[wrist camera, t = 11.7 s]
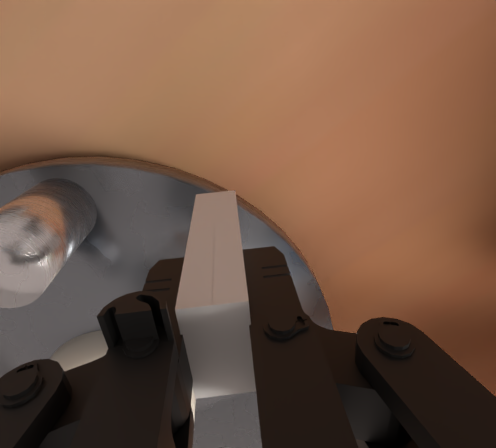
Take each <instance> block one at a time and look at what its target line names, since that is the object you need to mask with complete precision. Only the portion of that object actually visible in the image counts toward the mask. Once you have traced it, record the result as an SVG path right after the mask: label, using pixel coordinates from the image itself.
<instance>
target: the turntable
mask: <svg viewBox="0 0 496 448" xmlns="http://www.w3.org/2000/svg"><path fill="white" fill-rule="evenodd" d="M223 191H228V190H226V189H224V188H222V187H220V186H218V185H216V184H214V183H212V182H210V181H208V180H206V179H204V178H201V177H198V176H195V175H192V174H189V173H186V172H184V171H181V170H178V169H175V168H172V167H167V166H163V165H158V164H154V163H149V162H144V161H140V160H132V159H122V158H111V157H67V158H58V159H52V160H46V161H40V162H34V163H28V164H25V165H21V166H18V167H15V168H12V169H8V170H5V171H2V172H0V378H1V377H2V376H3V375H4V374H6V373H7V372H9V371H11V370H13V369H14V368H16V367H18V366H20V365H22V364H25V363H28V362H31V361H33V360H39V359H50V358H51V356H52V355H53V354H54V352H55V351H56V350H57V349H58V348H59V347H61V346H62V345H63V344H64V343H66V342H68V341H69V340H71V339H73V338H75V337H78V336H80V335H83V334H86V333H90V332H94V331H100V330H101V327H100V325H99V322H98V319H97V315H98V314H99V313H100V311H101V310H102V309H103V307H105V306H106V305H107V304H109V303H110V302H111V301H113V300H114V299H116V298H118V297H121V296H123V295H125V294H128V293H133V292H137V291H142V290H143V287H144V284H145V281H146V278H147V275H148V272H149V270H150V269H151V268H152V267H153V266H154V265H155V264H156V263H157V262H158V261H159V260H162V259H171V258H180V257H185V252H186V246H187V241H188V235H189V230H190V225H191V219H192V214H193V208H194V203H195V197H196V194H204V193H214V192H223ZM236 201H237V209H238V217H239V226H240V234H241V242H242V250H243V249H252V248H261V247H271V246H275V247H276V248H277V249H278V250H280V251H281V252H282V253H283V254H284V256H285V259H286V262H287V266H288V268H289V271H290V275H291V277H292V280H293V283H294V286H295V289H296V292H297V294H298V297H299V300H300V303H301V306H302V309H303V311H304V313H306V314H307V315H309V317H310V318H311V320H312V321H313V322H314V323H316V324H317V325H319V326H321V327H324V328H326V329H330V330H333V327H332V323H331V318H330V313H329V309H328V306H327V304H326V302H325V299H324V297H323V294H322V292H321V289H320V287H319V285H318V282H317V280H316V278H315V276H314V273H313V271H312V270H311V268H310V266H309V265H308V263H307V261H306V260H305V258H304V256H303V255H302V253H301V252H300V250H299V249H298V248H297V247H296V245H295V244H294V243H293V242H292V241H291V239H290V238H289V237H288V236H287V235H286V234H285V232H284V231H283V230H282V229H281V228H280V227H278V226H277V225H276V224H275V223H274V222H273V221H272V220H271V219H269V218H268V217H267V216H266V215H265V214H264V213H263V212H262V211H260V210H259V209H257V208H256V207H254V206H253V205H251V204H250V203H248V202H247V201H245V200H244V199H242V198H241V197H239V196H238V195H236ZM192 448H262V443H261V434H260V424H259V415H258V405H257V396H256V391H255V392H247V393H239V394H231V395H223V396H214V397H206V398H198V399H196V404H195V418H194V432H193V447H192Z"/></svg>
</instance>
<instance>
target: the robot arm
mask: <svg viewBox="0 0 496 448" xmlns="http://www.w3.org/2000/svg"><path fill="white" fill-rule="evenodd" d="M97 319H98V322H99V325H100V327H101V330H102V333H103V336H104V338H105V341H106V344H107V346H108V350H107V353H106V355H104V356H103V357H101V358H99V359H96V360H94V361H92V362H89V363H86V364H84V365H81V366H78V367H75V368H73V369H70V370H67V371H64V370H63V368H62V367H61V365H60V364H59V363H58V362H57V361H54V360H51V359H39V360H33V361H31V362H28V363H25V364H22V365H20V366H18V367H16V368H14V369H13V370H11V371H9V372H7V373H6V374H4V375H3V376H2V377H1V378H0V448H192V447H193V432H194V418H193V412H192V407H191V398H192V387H193V391H194V395H195V399H198V398H206V397H214V396H223V395H231V394H239V393H247V392H255V391H256V396H257V405H258V415H259V424H260V434H261V443H262V448H496V397H495V396H494V395H493V394H492V393H491V392H489V391H488V390H487V389H486V388H485V387H484V386H483V385H482V384H480V383H479V382H478V381H477V380H476V379H475V378H474V377H473V376H471V375H470V374H469V373H468V372H467V371H466V370H465V369H464V368H462V367H461V366H460V365H459V364H458V363H457V362H456V361H455V360H453V359H452V358H451V357H450V356H449V355H448V354H447V353H446V352H444V351H443V350H442V349H441V348H440V347H439V346H438V345H437V344H435V343H434V342H433V341H432V340H431V339H430V338H429V337H428V336H426V335H425V334H424V333H423V332H422V331H420V330H419V329H417V328H416V327H414V326H413V325H411V324H409V323H407V322H404V321H401V320H398V319H393V318H385V317H382V318H375V319H370V320H368V321H367V322H365V323H363V324H362V325H361V326H360V328H359V329H358V331H357V334H355V333H348V332H341V331H335V330H330V329H326V328H324V327H321V326H319V325H317V324H316V323H314V322H313V321H312V320H311V318H310V317H309V315H307V314H306V313H304V311H303V309H302V306H301V303H300V300H299V297H298V294H297V292H296V289H295V286H294V283H293V280H292V277H291V275H290V271H289V268H288V266H287V262H286V259H285V256H284V254H283V253H282V252H281V251H280V250H278V249H277V248H276V247H275V246H271V247H261V248H252V249H243V250H242V242H241V234H240V226H239V217H238V209H237V201H236V193H235V190H233V191H223V192H214V193H204V194H196V197H195V203H194V208H193V214H192V219H191V225H190V230H189V235H188V241H187V246H186V252H185V257H180V258H171V259H162V260H159V261H158V262H157V263H156V264H155V265H154V266H153V267H152V268H151V269H150V270H149V272H148V275H147V278H146V281H145V284H144V287H143V290H142V291H137V292H133V293H128V294H125V295H123V296H121V297H118V298H116V299H114V300H113V301H111V302H110V303H109V304H107V305H106V306H105V307H103V309H102V310H101V311H100V313H99V314H98V315H97Z"/></svg>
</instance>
